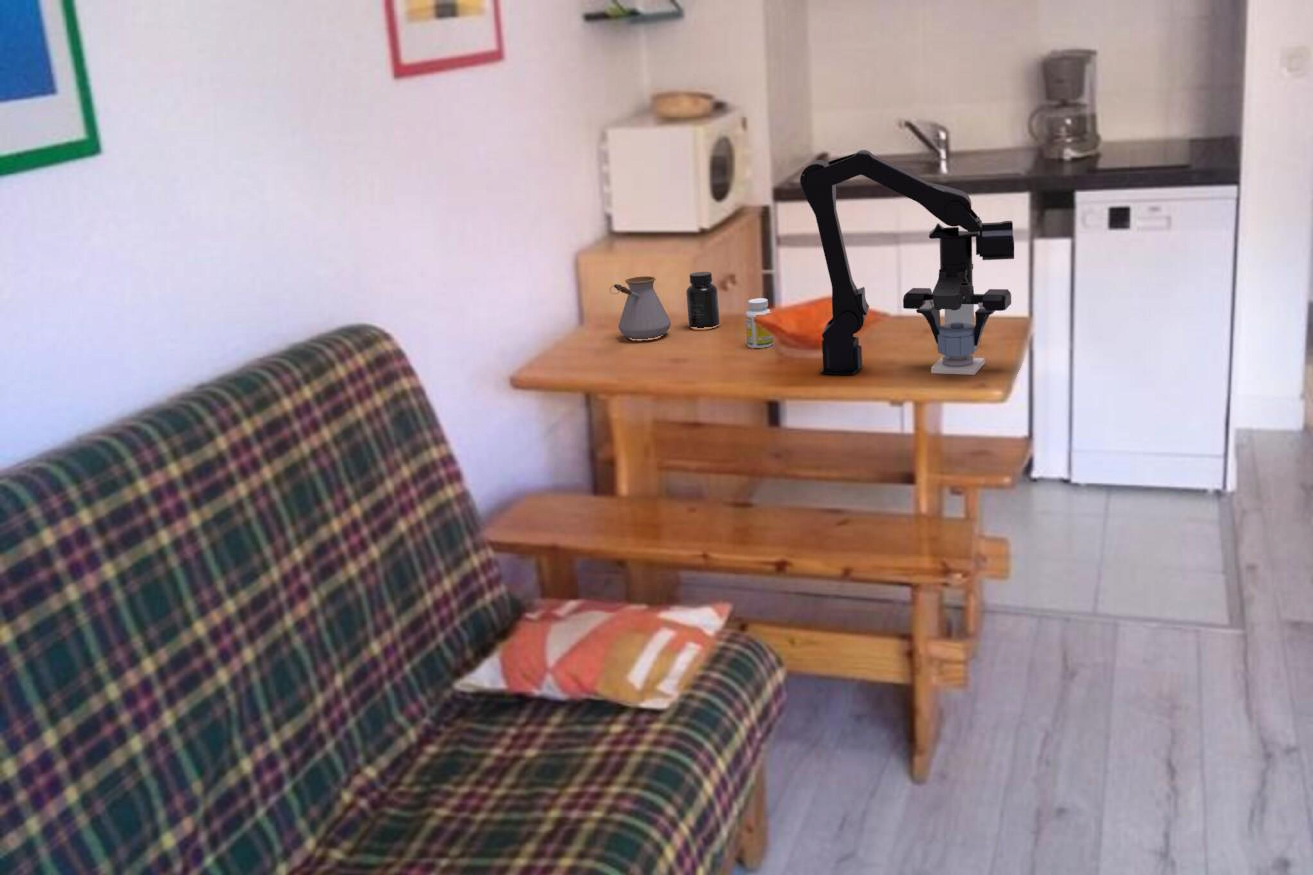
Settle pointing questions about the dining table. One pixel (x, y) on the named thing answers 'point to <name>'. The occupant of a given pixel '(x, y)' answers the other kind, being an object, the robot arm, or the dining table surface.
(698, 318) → the supplement bottle
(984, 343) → the dining table surface
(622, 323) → the coffee pot
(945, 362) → the two-tone square knobbed fixture
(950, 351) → the cap
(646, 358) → the dining table surface
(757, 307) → the supplement bottle
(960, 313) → the small box
